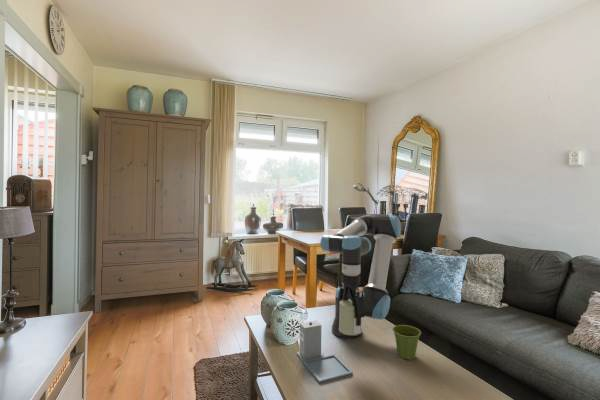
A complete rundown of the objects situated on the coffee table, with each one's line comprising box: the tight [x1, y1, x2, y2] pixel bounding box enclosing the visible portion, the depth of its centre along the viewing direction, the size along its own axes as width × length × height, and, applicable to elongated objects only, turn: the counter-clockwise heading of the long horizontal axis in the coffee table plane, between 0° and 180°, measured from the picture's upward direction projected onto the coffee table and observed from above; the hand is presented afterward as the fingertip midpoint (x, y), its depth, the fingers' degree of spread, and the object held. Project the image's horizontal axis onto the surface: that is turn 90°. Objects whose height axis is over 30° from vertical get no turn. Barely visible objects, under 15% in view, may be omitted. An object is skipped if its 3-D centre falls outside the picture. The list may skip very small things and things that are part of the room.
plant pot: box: [392, 324, 422, 361], centre depth 138 cm, size 12×12×11 cm
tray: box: [303, 353, 354, 384], centre depth 127 cm, size 15×15×1 cm
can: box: [339, 299, 362, 335], centre depth 129 cm, size 9×9×12 cm
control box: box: [296, 320, 325, 363], centre depth 137 cm, size 10×7×15 cm
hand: (350, 328), depth 129 cm, fingers closed on can, 9 cm apart
